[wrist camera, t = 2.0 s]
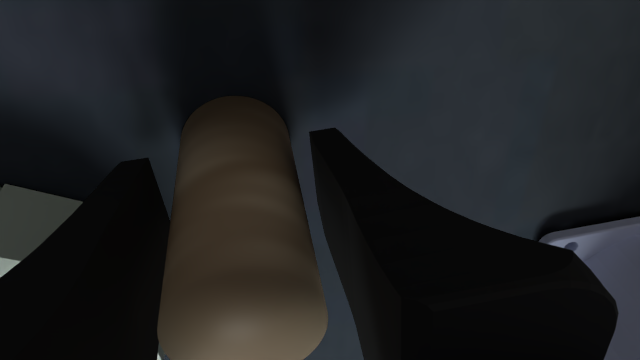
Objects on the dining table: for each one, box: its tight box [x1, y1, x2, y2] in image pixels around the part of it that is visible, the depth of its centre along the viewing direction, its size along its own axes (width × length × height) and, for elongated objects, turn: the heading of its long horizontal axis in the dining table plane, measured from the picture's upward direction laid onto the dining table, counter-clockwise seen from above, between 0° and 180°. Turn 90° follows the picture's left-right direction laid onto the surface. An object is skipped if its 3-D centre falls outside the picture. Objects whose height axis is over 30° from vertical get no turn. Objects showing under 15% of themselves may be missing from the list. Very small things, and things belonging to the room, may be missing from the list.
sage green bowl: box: [0, 184, 165, 360], centre depth 14 cm, size 8×8×2 cm
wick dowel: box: [157, 96, 328, 360], centre depth 11 cm, size 3×3×6 cm
